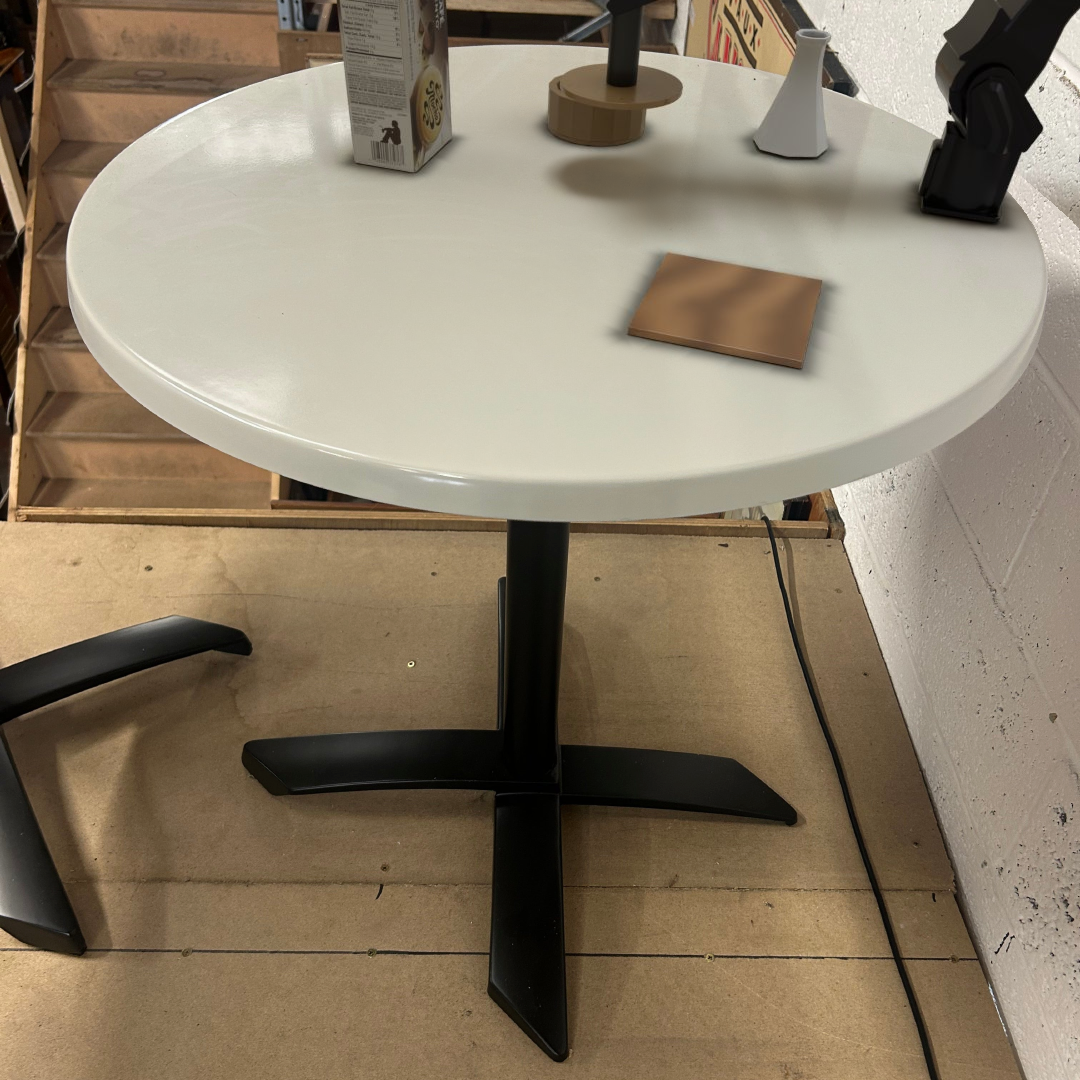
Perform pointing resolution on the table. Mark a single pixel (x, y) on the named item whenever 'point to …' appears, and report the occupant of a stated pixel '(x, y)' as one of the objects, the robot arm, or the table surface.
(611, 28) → the tin lid
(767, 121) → the flask
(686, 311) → the cork mat
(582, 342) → the table surface
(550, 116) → the tin
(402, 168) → the coffee box
